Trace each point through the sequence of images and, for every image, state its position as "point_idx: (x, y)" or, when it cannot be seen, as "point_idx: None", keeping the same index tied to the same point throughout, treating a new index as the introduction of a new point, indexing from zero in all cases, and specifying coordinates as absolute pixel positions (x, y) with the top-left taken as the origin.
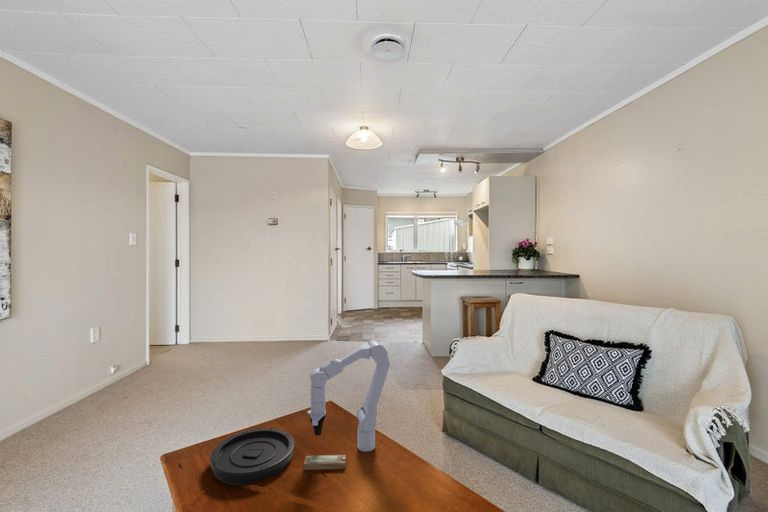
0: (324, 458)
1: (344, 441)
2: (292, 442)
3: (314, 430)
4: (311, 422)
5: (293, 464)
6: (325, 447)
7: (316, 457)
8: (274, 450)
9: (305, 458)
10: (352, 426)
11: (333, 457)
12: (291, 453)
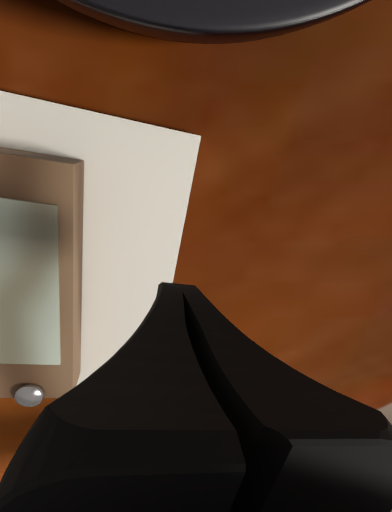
0: (28, 295)
1: (272, 352)
2: (240, 11)
3: (151, 310)
4: (54, 411)
5: (99, 61)
6: (248, 269)
7: (39, 244)
8: None
9: (32, 159)
10: (381, 380)
11: (39, 345)
12: (79, 8)
